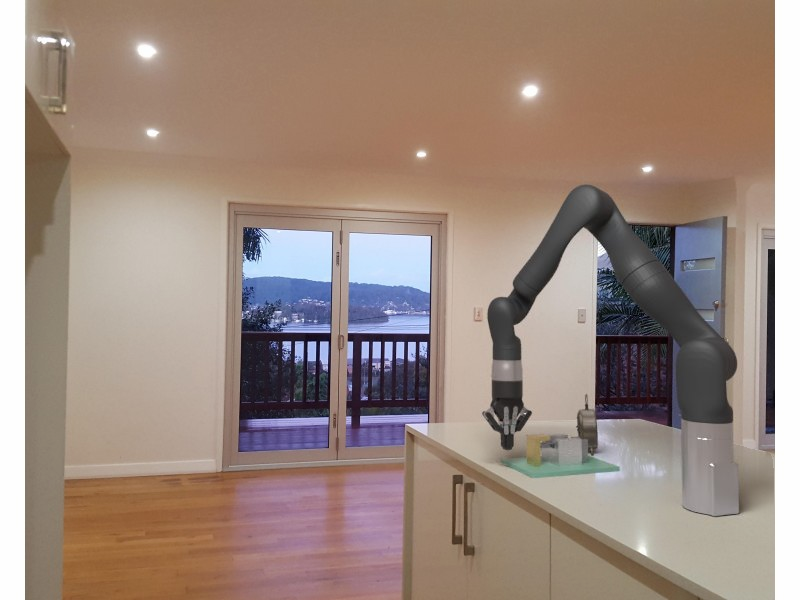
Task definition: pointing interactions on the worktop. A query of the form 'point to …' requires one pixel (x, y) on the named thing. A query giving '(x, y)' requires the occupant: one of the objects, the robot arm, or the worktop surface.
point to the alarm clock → (588, 426)
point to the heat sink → (566, 451)
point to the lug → (535, 448)
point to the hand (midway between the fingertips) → (507, 449)
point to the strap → (547, 444)
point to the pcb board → (552, 470)
